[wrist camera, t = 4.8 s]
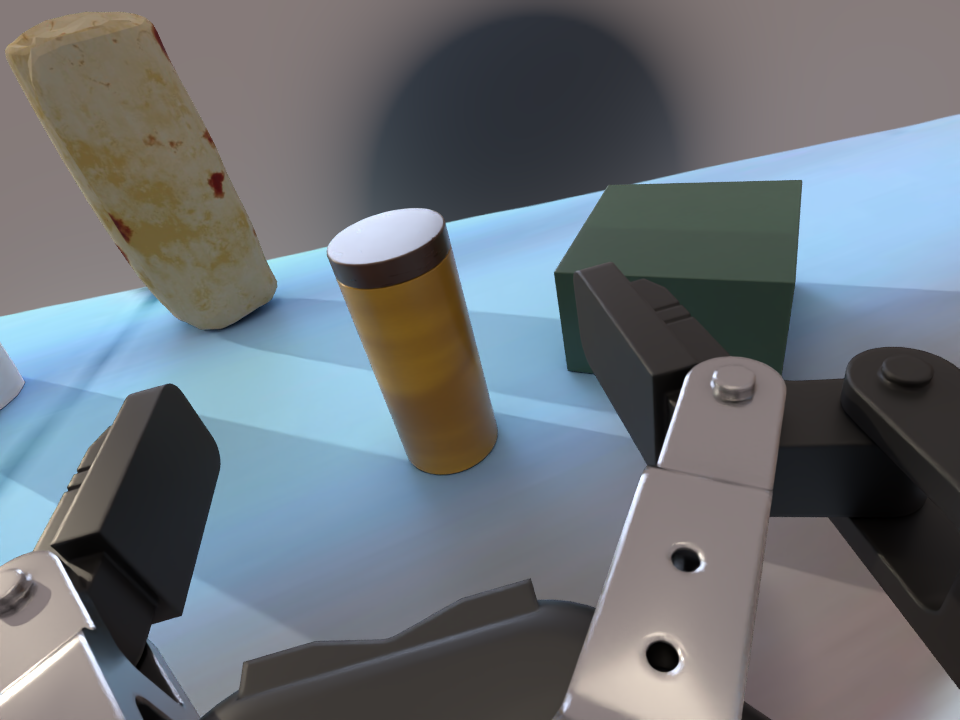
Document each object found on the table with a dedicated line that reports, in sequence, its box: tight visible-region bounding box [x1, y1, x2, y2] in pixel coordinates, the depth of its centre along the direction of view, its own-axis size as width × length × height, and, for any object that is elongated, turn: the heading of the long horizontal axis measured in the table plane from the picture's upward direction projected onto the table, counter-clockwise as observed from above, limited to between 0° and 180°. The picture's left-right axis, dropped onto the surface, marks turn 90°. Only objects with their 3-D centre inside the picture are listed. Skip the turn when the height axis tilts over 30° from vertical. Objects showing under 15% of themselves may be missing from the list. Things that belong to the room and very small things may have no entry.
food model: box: [5, 12, 277, 330], centre depth 38 cm, size 10×7×20 cm
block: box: [554, 180, 802, 376], centre depth 30 cm, size 10×10×6 cm
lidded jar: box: [327, 208, 498, 475], centre depth 25 cm, size 5×5×11 cm
